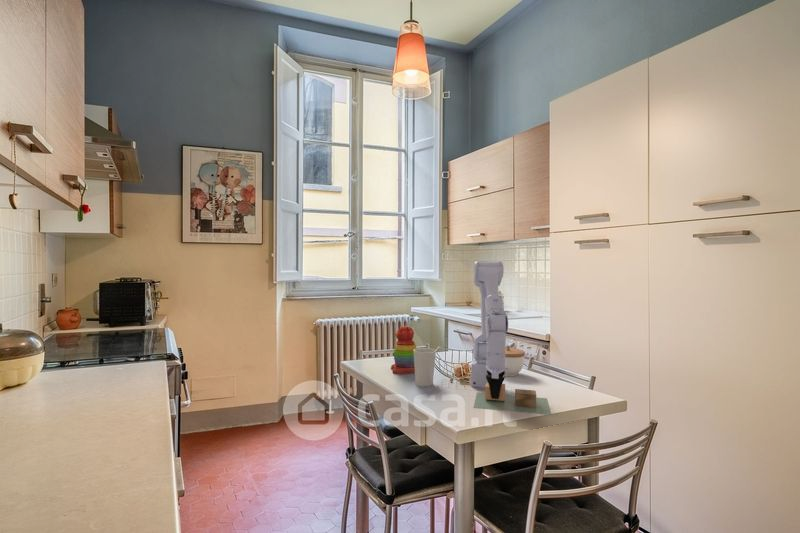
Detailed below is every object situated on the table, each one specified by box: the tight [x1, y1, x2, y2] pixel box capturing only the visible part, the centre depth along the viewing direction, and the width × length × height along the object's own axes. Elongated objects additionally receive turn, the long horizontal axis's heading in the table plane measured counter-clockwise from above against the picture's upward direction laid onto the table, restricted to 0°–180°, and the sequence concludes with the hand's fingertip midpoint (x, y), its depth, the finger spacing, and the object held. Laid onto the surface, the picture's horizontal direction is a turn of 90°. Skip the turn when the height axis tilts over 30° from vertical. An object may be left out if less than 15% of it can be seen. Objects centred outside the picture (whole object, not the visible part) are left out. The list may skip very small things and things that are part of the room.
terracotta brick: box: [484, 383, 506, 401], centre depth 142 cm, size 6×4×4 cm
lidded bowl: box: [503, 345, 526, 377], centre depth 178 cm, size 13×13×11 cm
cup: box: [413, 347, 437, 387], centre depth 161 cm, size 8×8×12 cm
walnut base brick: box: [514, 388, 537, 408], centre depth 137 cm, size 6×4×4 cm
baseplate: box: [473, 392, 553, 416], centre depth 139 cm, size 22×16×1 cm
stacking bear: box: [390, 325, 418, 375], centre depth 180 cm, size 11×10×18 cm
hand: (495, 395), depth 142 cm, fingers closed on terracotta brick, 4 cm apart
